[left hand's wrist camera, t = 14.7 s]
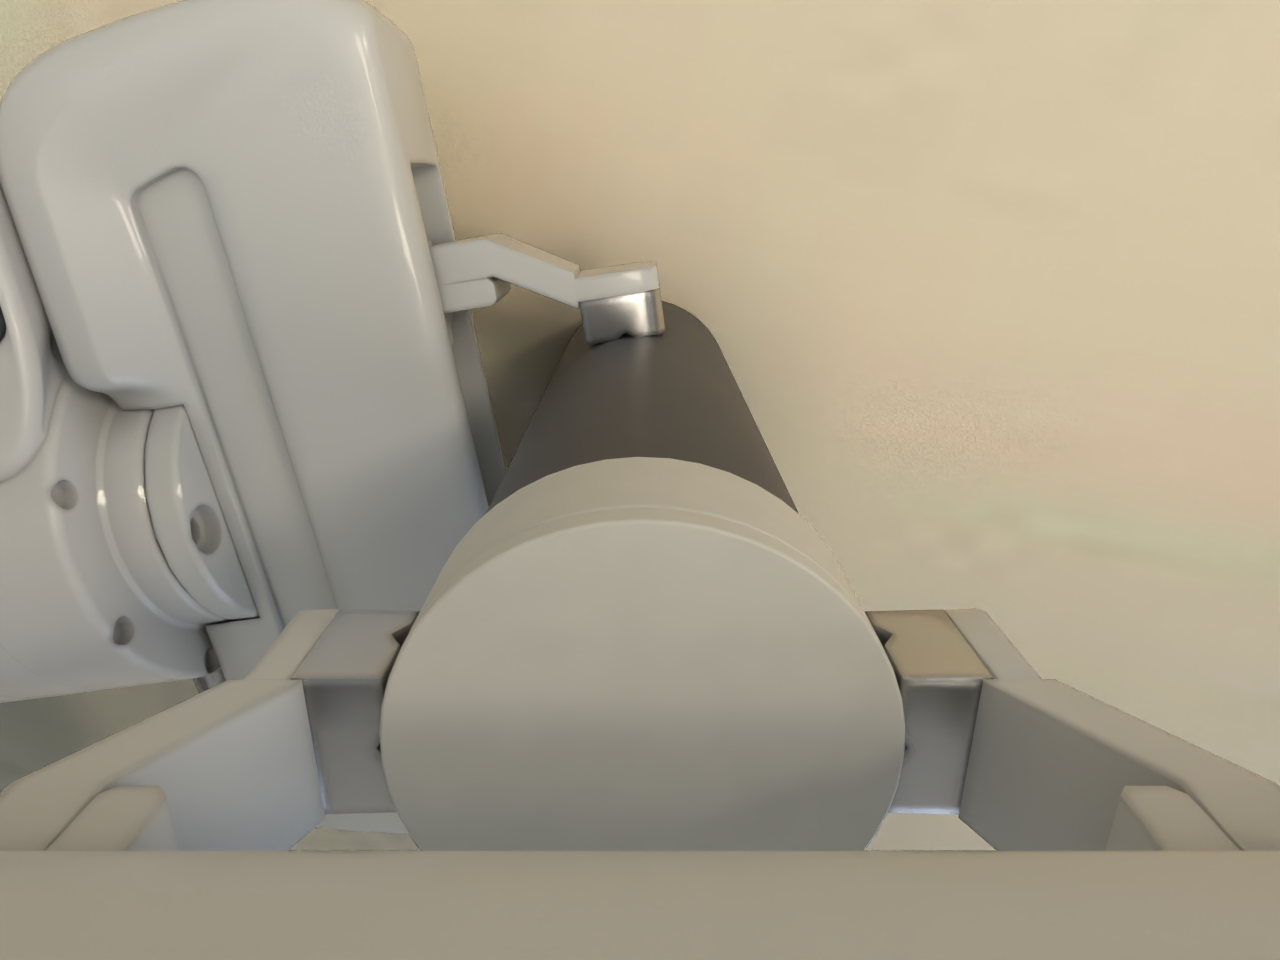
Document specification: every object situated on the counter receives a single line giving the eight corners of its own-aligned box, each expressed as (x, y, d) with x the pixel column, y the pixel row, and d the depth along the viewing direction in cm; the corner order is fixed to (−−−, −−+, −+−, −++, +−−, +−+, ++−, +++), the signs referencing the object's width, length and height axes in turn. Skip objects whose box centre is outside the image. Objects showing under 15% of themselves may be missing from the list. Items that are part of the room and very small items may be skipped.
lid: (346, 698, 10) (284, 805, 8) (589, 361, 9) (576, 404, 7) (682, 889, 11) (690, 1018, 10) (951, 620, 10) (1018, 715, 8)
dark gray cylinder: (590, 273, 23) (487, 442, 8) (752, 334, 24) (954, 602, 8) (537, 431, 25) (365, 827, 9) (689, 484, 25) (761, 937, 10)
